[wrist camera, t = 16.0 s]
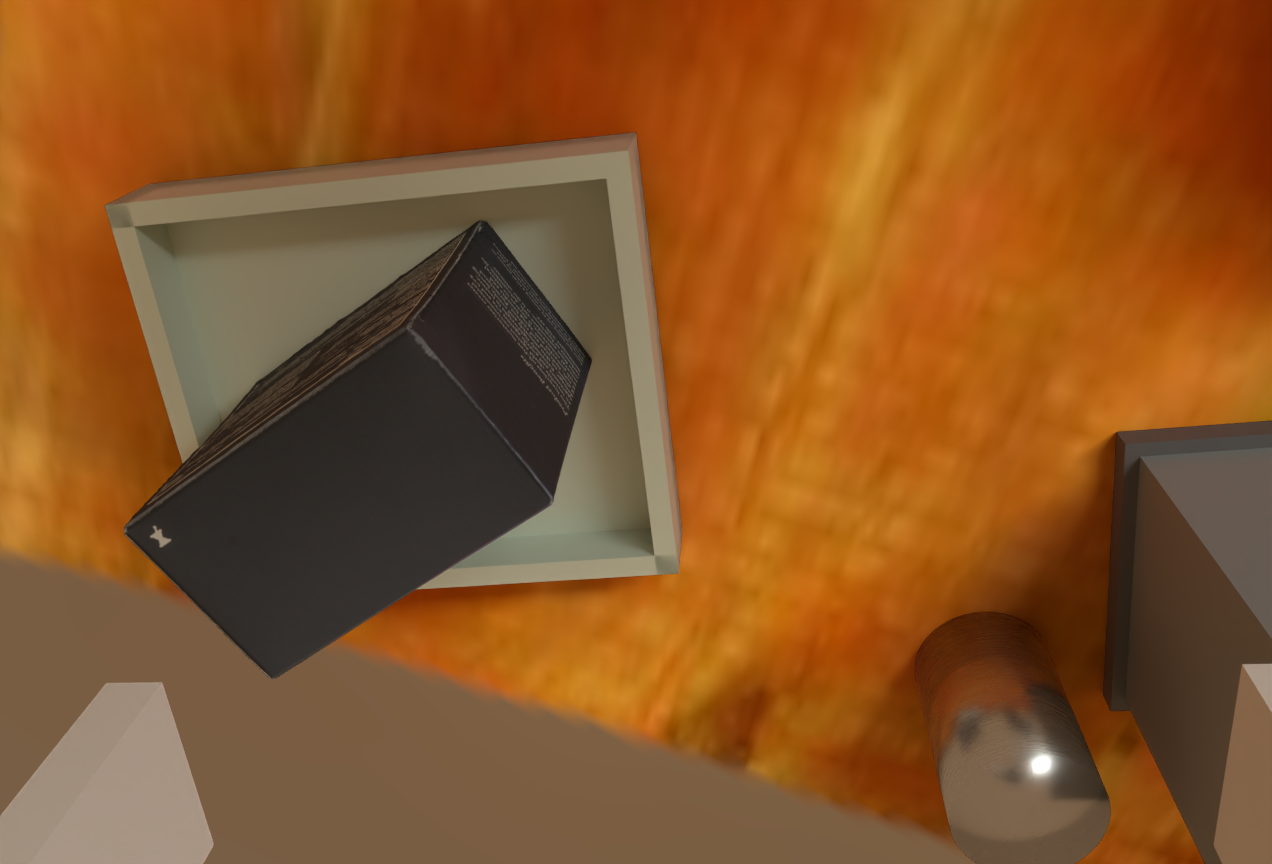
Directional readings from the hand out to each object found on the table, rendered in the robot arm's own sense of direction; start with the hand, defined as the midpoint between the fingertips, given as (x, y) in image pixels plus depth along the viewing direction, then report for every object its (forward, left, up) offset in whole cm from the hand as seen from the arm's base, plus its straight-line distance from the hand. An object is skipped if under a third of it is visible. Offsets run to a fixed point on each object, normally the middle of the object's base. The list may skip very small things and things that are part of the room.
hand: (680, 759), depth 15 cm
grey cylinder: (+18, +8, -26) cm, 33 cm away
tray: (+4, -11, -26) cm, 29 cm away
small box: (+4, -10, -26) cm, 28 cm away
